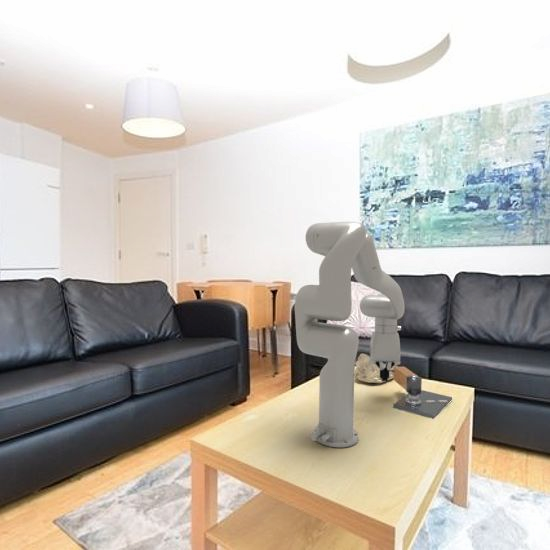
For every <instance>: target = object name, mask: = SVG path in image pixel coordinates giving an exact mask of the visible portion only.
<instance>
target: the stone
mask: <svg viewBox="0 0 550 550" xmlns="http://www.w3.org/2000/svg"><path fill="white" fill-rule="evenodd" d="M369 360H370V355H368V354H366V353H360V355H359V356H358V357H356V361H355V371H354V375H355V376H356V378H357V380H358V381H359V380H360V381H362V382H365V383H371V384H374V383H375V384H380V383H384V382H385V383H386V381H382V379H381V378H380V368H379V367H378V366H377V365H375V364H371V363H370V362H369ZM383 367H384V368H385V367H386V363H383ZM394 367H399V366H398V365H394V366H393V367H392V368H391V369H390V370H389V378H388V381H390V380H392V379H394Z"/></svg>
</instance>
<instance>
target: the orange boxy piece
mask: <svg viewBox="0 0 550 550" xmlns="http://www.w3.org/2000/svg"><path fill="white" fill-rule="evenodd" d="M393 373H394V378H393V381H394V382H395V383H396V384H398V385H399V386H400V387H401V388H402V389H404V390H405V391H406V393H407V394H408V393H410V394H415V395H418V394H421V390H422V383H423V381H422V380H423V377H422V376H419V375H417V374H416V373H414V372H413V371H411V370H410V369H409V368H407V367H405V366H398V367H394V370H393Z"/></svg>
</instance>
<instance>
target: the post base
mask: <svg viewBox="0 0 550 550" xmlns="http://www.w3.org/2000/svg"><path fill="white" fill-rule="evenodd" d="M451 400H452V401H453V397H452V396H448V395H444V394H439V393H435V392H431V391H427V390H423V389H421V394H418V395H415V394H410V393H407V394H405V395H404V396H403V397H401V398H400V399H399V400H397V401H396V402H394V403H393V405H392V408H393V409H397V410H400V411H401V410H402V411H405V412H407V413H411V414H415V415H419V416H422V417H426V418H430V419H435V417H436V416H437V415H438V414H439V413H441V412H442V411H443V410H444V409H445V408H446V407H447V406H448V405H449V404H450V403H451V402H452V401H451ZM450 401H451V402H450ZM449 402H450V403H449ZM448 403H449V404H448ZM447 404H448V405H447ZM446 405H447V406H446ZM445 406H446V407H445ZM444 407H445V408H444ZM443 408H444V409H443ZM442 409H443V410H442ZM441 410H442V411H441Z"/></svg>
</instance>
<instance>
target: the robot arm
mask: <svg viewBox="0 0 550 550" xmlns="http://www.w3.org/2000/svg"><path fill="white" fill-rule="evenodd" d="M366 229H367V228H366V226H365V225H364V224H362V223H361V222H356V221H336V222H335V221H334V222H316V223H313V224H311V225H310V226H309V227H308V228H307V230H306V233H305V244H306V246H307V247H308V249H309V250H310V251H311V252H312V253H315V254H317V255H320V256H323V257H324V258H323V259H322V261H321V264H320V265H319V269H318V284H306V285H303V286H301V287H300V288H299V289H298V291H297V293H296V295H295V300H294V316H295V317H294V319H295V320H294V321H295V332H296V334H295V336H296V343H297V346H298V348H299V350H300V351H301V352H302V353H303V354H306V355H311V356H315V357H321V358H324V359H327V362H326V363H325V365H323V367H322V368H321V370H320V372H319V380H318V382H319V387H318V388H319V390H318V391H319V394H318V395H319V397H318V399H319V400H318V423H317V426H315V427H314V428H313V430H312V433H311V434H310V436H309V437H310V439H311V441H313V442H315V441H316V442H318V443H319V444H321V445H323V446H326V447H331V448H337V449H338V448H339V449H340V448H349V447H351V446H354V445H356V444H357V443H358V442H359V439H360V438H359V437H360V436H359V433H358V432H357V430H356V429H355V428H354V406H355V405H354V402H355V401H354V400H355V399H354V398H355V370H356V365H355V361H356V362H357V355H358V350H359V345H360V344H359V343H360V342H359V341H360V338H359V335H358V332H357V331H356V330H355V329H353V328H352V327H350V326H347V325H343V324H337V323H336V324H335V323H327V322H318V320H322V321H330V322H332V321H333V322H343V321H346V320H348V319H349V318H350V316H351V314H352V306H353V305H352V304H353V302H352V272H353V275H354V278H355V279H354V280H356V281H357V282H358V283H359V284H361V285H363V286H365V287H367V288H369V289H371V290H374V291H377V292H379V294H368V295H365V296H364V297H363V298H362V299H361V300H360V301H359V302H360V303H359V309H360V313H361V314H362V315H363V316H365V317H368V318H374V331H372V333H371V336H370V344H369V356H370V360H369V362H370V363H371V364H375V365H377V366H378V367H379V368H380V378H381V379H382V381H385V382H388V381H389V380H388V378H389V371H391V370H390V369H391V368H392V367H393V366H394V365H397V366H398V365H401V363H402V362H401V342H400V341H401V340H400V335H399V333H398V331H401V330H402V326H401V325H398V320H399V319H401V318H402V317H403V316H404V314H405V309H406V307H405V300H404V295H403V292H402V289H401V287H400V285H399V284H398V282H397V281H396V280H395V279H394V278H393V277H391V276H390V275H389V274H388V273H386V272H385V271H384V270H383V269H382V268H381V263H380V260H379V256H378V252H377V249H376V245H375V241H374V238H373V237H372V235H371V234H370V233H369V232H367V230H366ZM384 362H385V364H386V367H385V368H384V367H383V364H384Z"/></svg>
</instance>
